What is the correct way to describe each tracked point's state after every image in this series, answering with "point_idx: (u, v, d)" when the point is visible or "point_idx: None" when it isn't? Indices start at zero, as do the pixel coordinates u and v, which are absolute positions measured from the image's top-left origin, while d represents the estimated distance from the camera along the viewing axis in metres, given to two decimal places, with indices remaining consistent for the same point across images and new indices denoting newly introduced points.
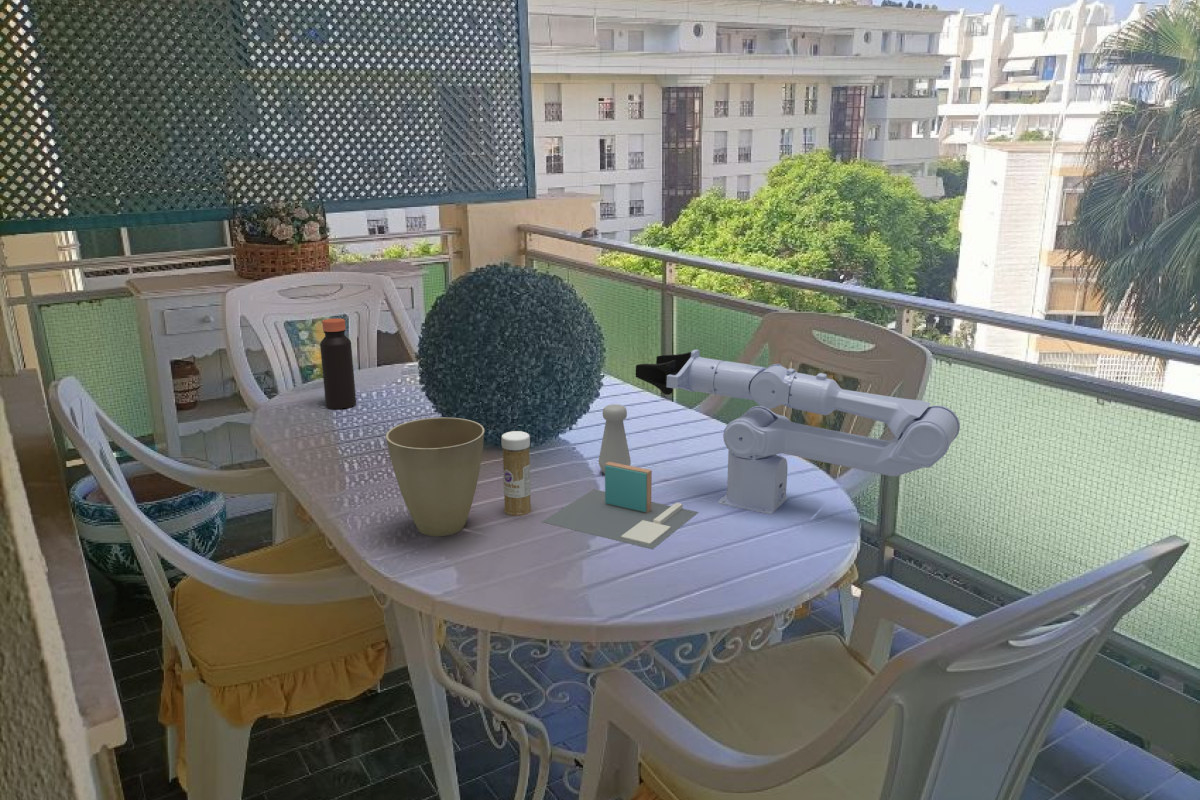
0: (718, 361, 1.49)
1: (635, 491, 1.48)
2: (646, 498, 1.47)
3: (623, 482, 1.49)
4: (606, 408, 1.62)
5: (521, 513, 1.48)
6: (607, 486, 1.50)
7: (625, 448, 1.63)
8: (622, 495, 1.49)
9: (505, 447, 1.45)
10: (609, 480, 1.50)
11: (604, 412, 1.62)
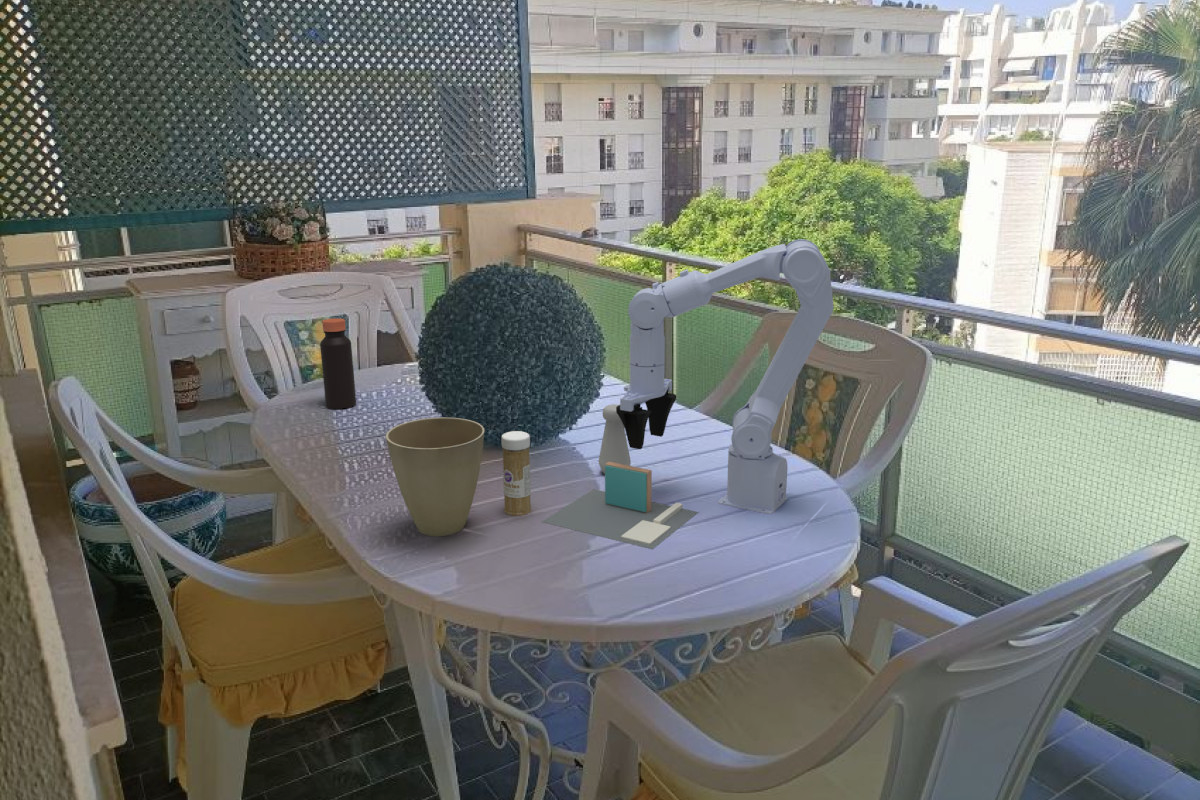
0: (631, 363, 1.50)
1: (635, 491, 1.48)
2: (646, 498, 1.47)
3: (623, 482, 1.49)
4: (606, 408, 1.62)
5: (521, 513, 1.48)
6: (607, 486, 1.50)
7: (625, 448, 1.63)
8: (622, 495, 1.49)
9: (505, 447, 1.45)
10: (609, 480, 1.50)
11: (604, 412, 1.62)
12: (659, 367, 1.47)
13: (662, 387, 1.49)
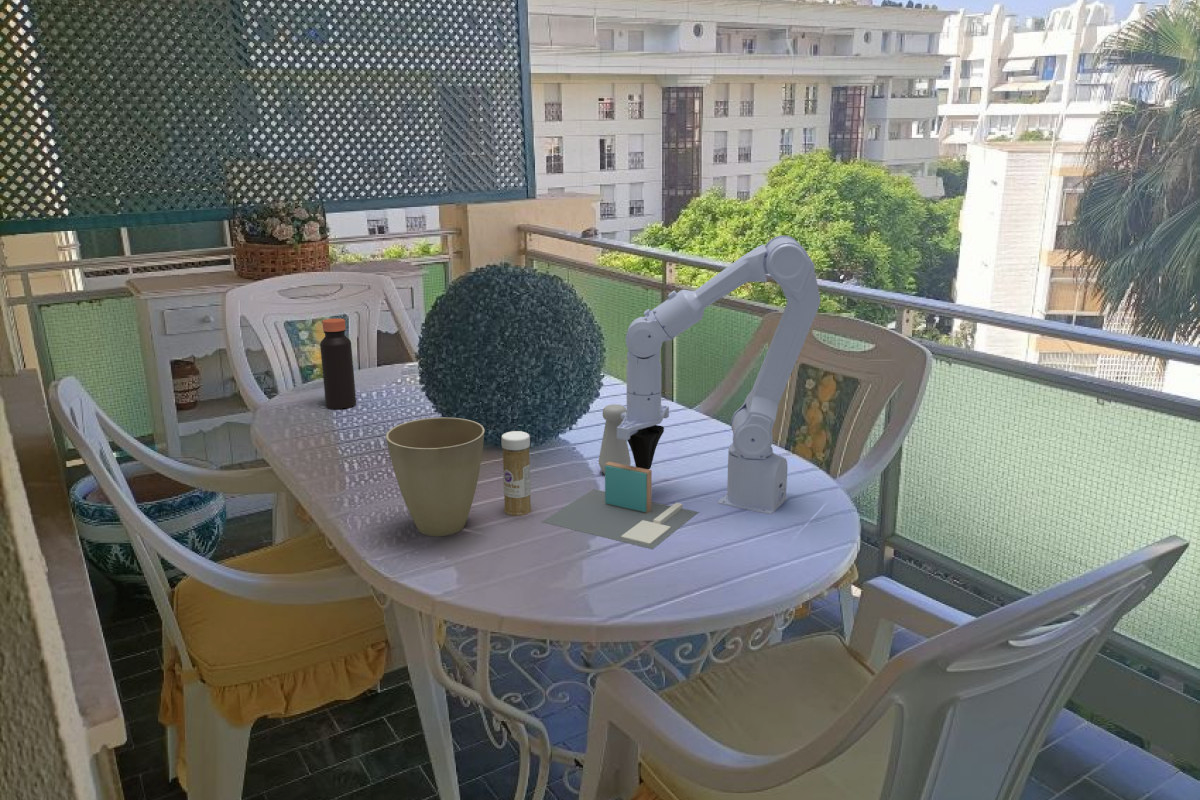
0: None
1: (635, 491, 1.48)
2: (646, 498, 1.47)
3: (623, 482, 1.49)
4: (606, 408, 1.62)
5: (521, 513, 1.48)
6: (607, 486, 1.50)
7: (625, 448, 1.63)
8: (622, 495, 1.49)
9: (505, 447, 1.45)
10: (609, 480, 1.50)
11: (604, 412, 1.62)
12: (656, 395, 1.48)
13: (659, 415, 1.49)
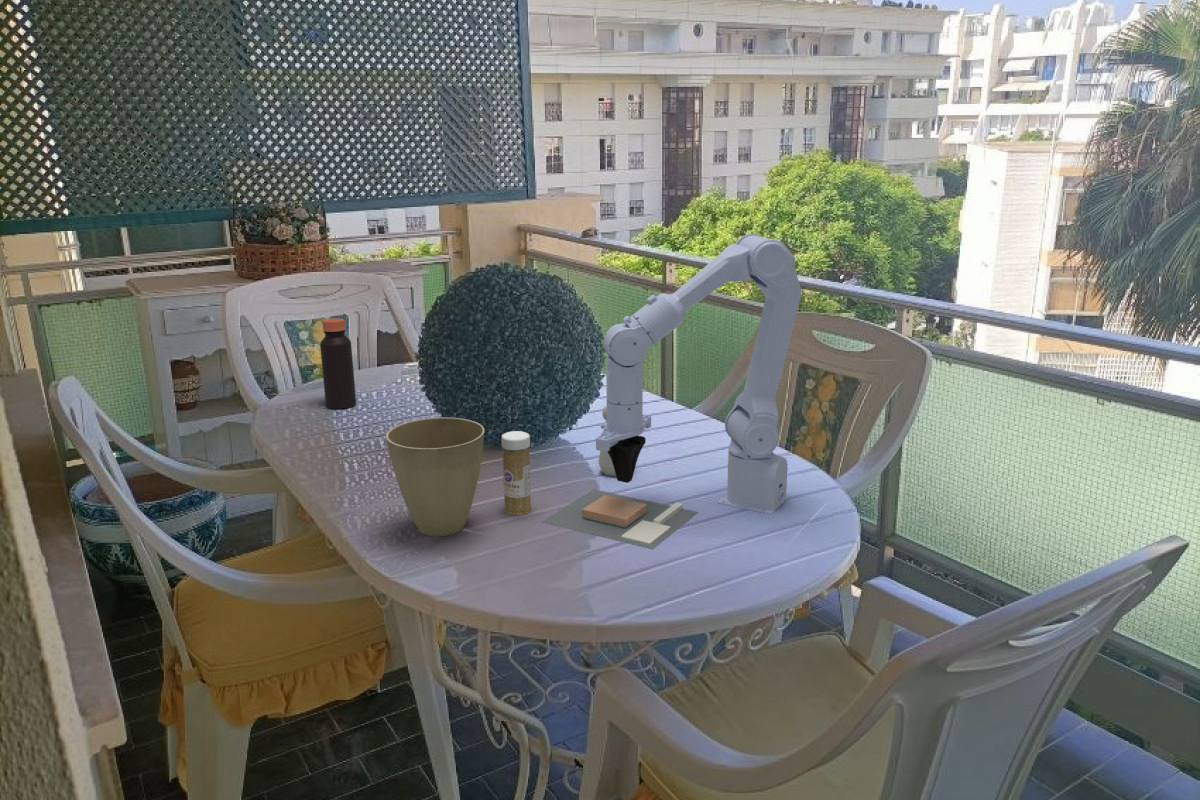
0: None
1: None
2: None
3: None
4: (606, 408, 1.62)
5: (521, 513, 1.48)
6: None
7: None
8: None
9: (505, 447, 1.45)
10: None
11: (604, 412, 1.62)
12: (636, 405, 1.42)
13: (640, 425, 1.44)
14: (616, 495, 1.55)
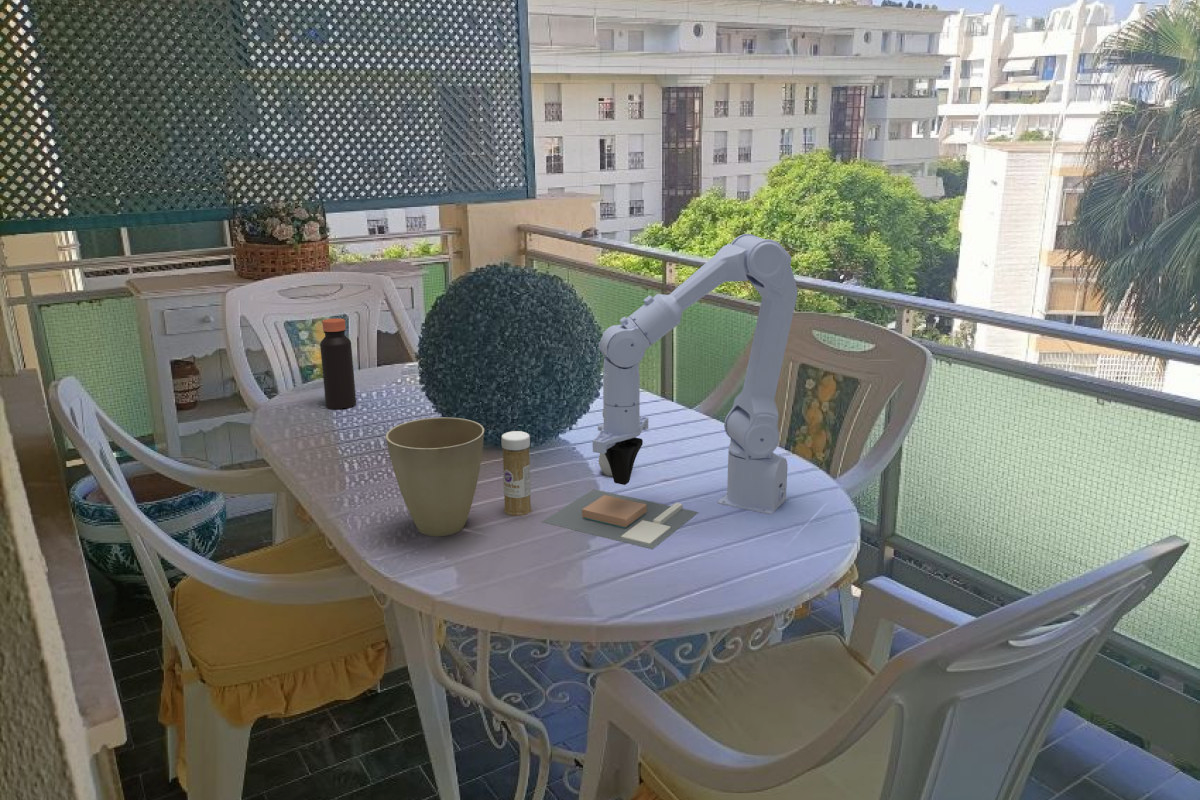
0: None
1: None
2: None
3: None
4: None
5: (521, 513, 1.48)
6: None
7: None
8: None
9: (505, 447, 1.45)
10: None
11: None
12: (633, 407, 1.42)
13: (637, 427, 1.43)
14: (616, 495, 1.55)
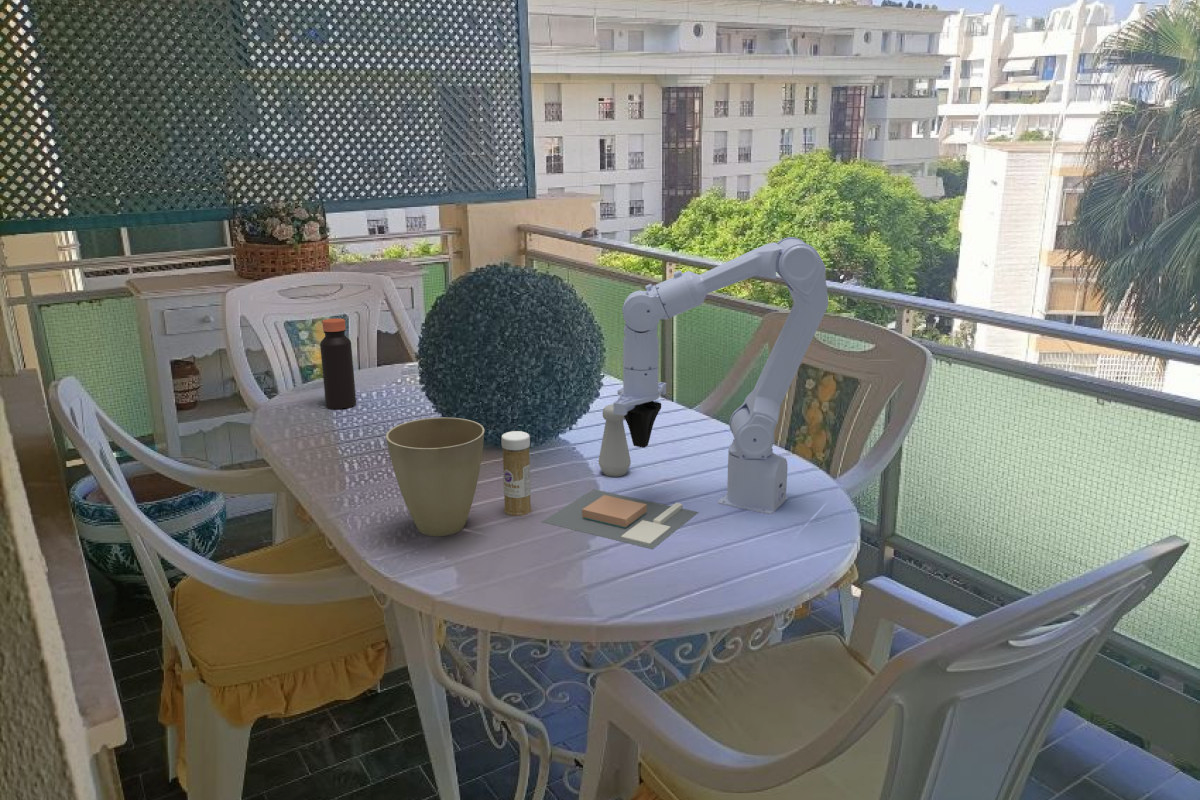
0: (624, 366, 1.48)
1: None
2: None
3: None
4: (606, 408, 1.62)
5: (521, 513, 1.48)
6: None
7: (625, 448, 1.63)
8: None
9: (505, 447, 1.45)
10: None
11: (604, 412, 1.62)
12: (653, 370, 1.45)
13: (656, 391, 1.47)
14: (616, 495, 1.55)
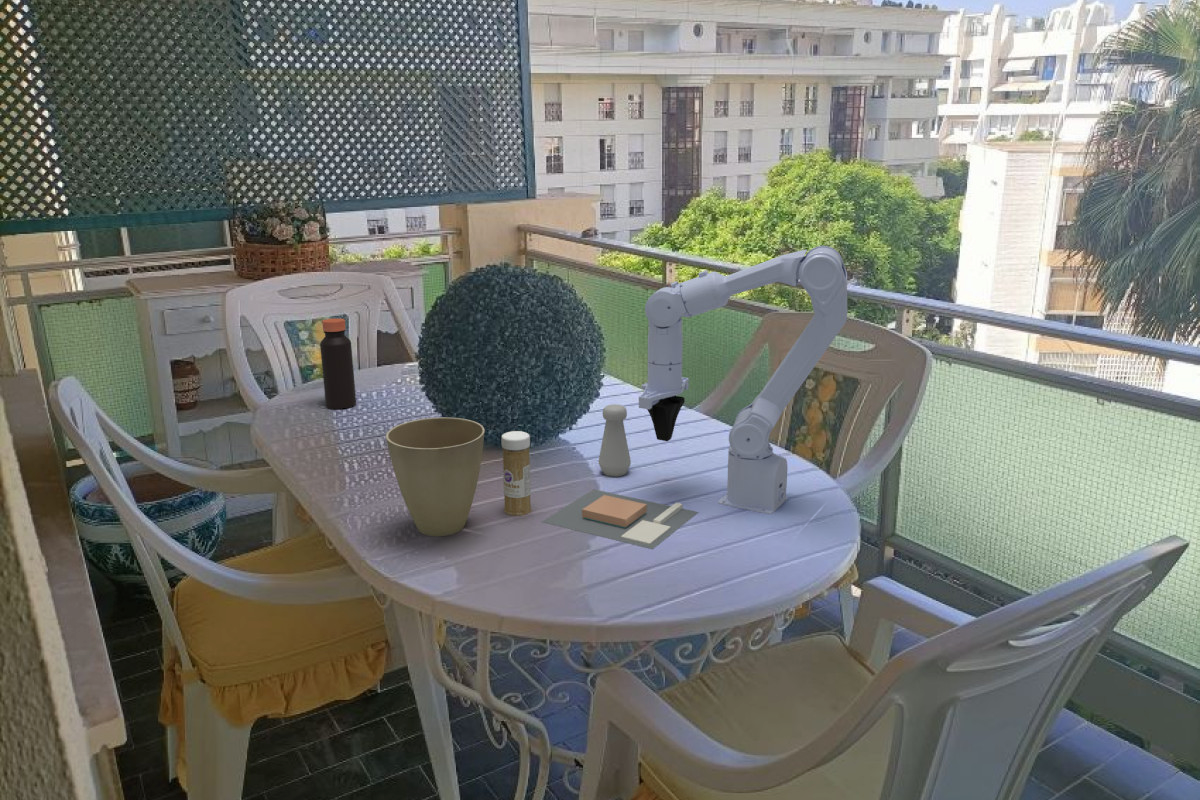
0: (648, 361, 1.51)
1: None
2: None
3: None
4: (606, 408, 1.62)
5: (521, 513, 1.48)
6: None
7: (625, 448, 1.63)
8: None
9: (505, 447, 1.45)
10: None
11: (604, 412, 1.62)
12: (677, 365, 1.48)
13: (680, 385, 1.50)
14: (616, 495, 1.55)
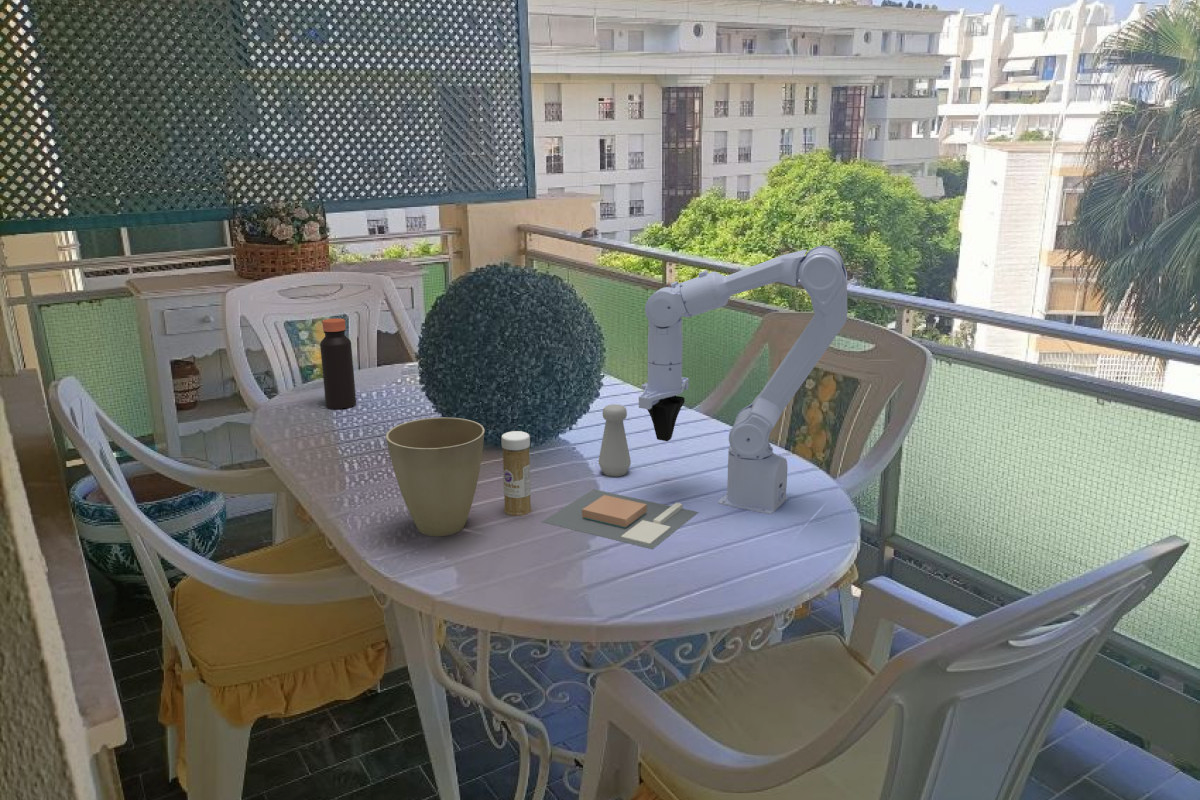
0: (648, 361, 1.51)
1: None
2: None
3: None
4: (606, 408, 1.62)
5: (521, 513, 1.48)
6: None
7: (625, 448, 1.63)
8: None
9: (505, 447, 1.45)
10: None
11: (604, 412, 1.62)
12: (677, 365, 1.48)
13: (680, 385, 1.50)
14: (616, 495, 1.55)
